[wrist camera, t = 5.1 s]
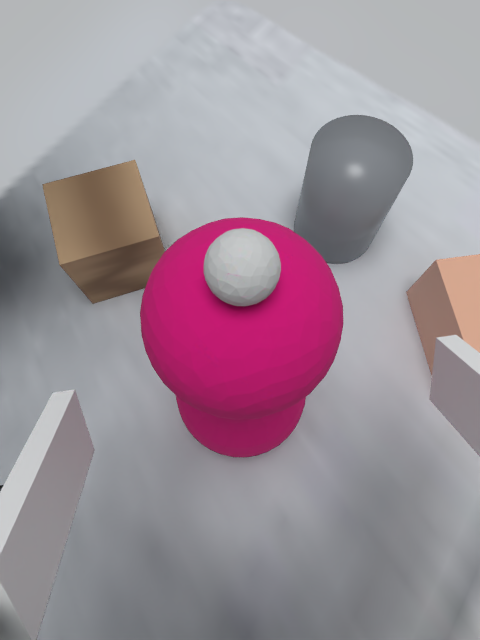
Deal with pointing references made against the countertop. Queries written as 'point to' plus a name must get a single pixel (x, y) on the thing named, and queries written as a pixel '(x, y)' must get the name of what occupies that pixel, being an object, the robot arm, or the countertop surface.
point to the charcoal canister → (351, 185)
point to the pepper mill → (241, 330)
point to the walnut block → (104, 230)
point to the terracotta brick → (447, 302)
